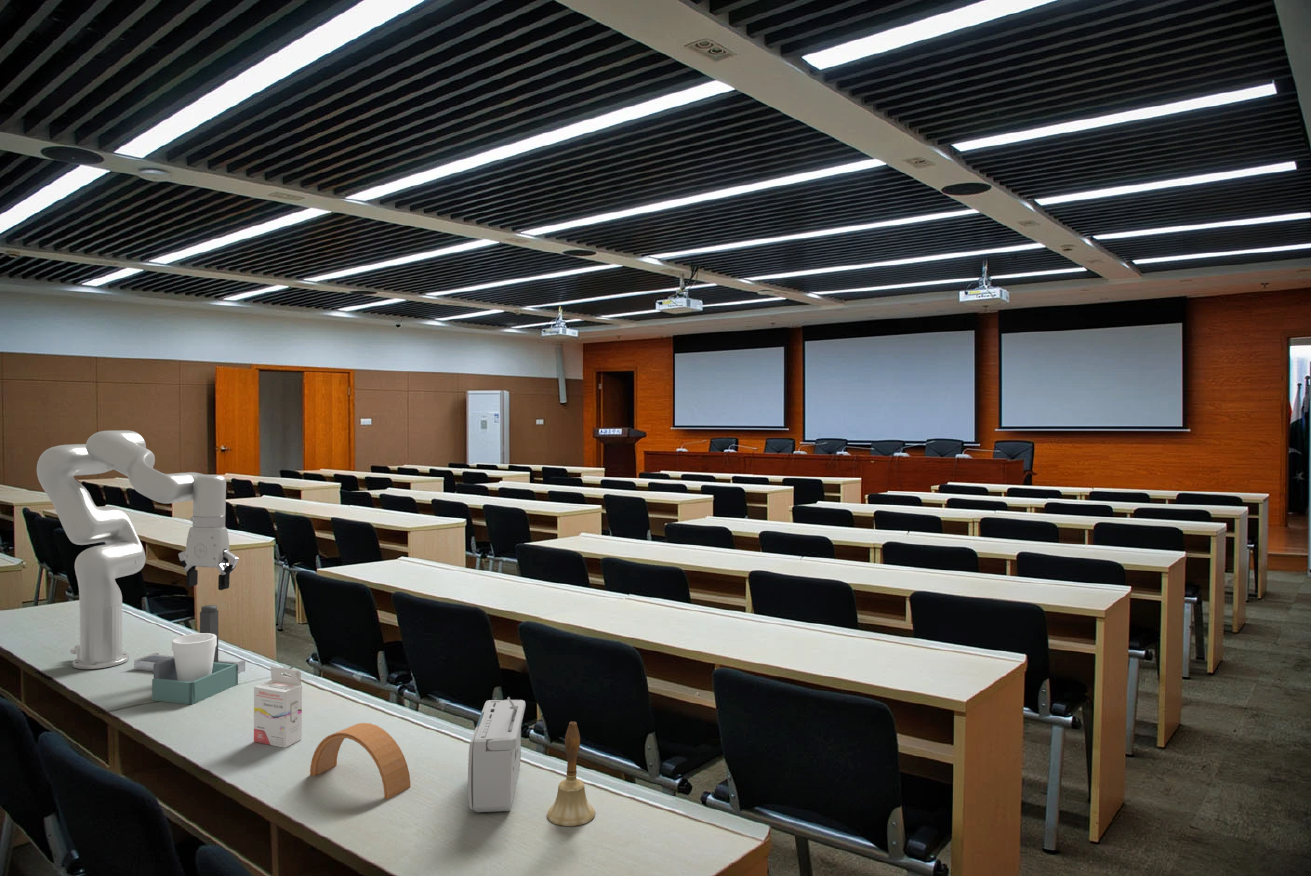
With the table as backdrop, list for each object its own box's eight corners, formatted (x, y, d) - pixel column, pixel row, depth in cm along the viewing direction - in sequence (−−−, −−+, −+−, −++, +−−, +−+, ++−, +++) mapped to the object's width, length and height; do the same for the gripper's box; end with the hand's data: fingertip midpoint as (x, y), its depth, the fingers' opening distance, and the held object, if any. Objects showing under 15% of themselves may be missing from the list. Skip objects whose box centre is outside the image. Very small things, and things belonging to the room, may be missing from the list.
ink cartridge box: (252, 742, 171) (252, 672, 170) (270, 734, 175) (270, 665, 175) (285, 748, 168) (285, 677, 168) (303, 739, 173) (303, 670, 172)
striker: (141, 694, 197) (141, 624, 197) (208, 668, 218) (208, 604, 218) (158, 696, 196) (158, 625, 196) (224, 669, 217) (224, 605, 217)
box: (152, 700, 194) (152, 679, 194) (200, 680, 209) (200, 660, 209) (192, 704, 192) (192, 683, 192) (237, 684, 207) (237, 664, 207)
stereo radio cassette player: (483, 765, 162) (483, 663, 161) (525, 764, 162) (526, 663, 162) (466, 817, 141) (467, 701, 140) (515, 816, 141) (516, 700, 141)
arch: (386, 800, 147) (387, 744, 146) (309, 775, 156) (309, 723, 156) (410, 787, 152) (411, 734, 151) (334, 764, 161) (335, 713, 161)
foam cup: (223, 685, 206) (223, 633, 205) (203, 697, 197) (203, 643, 196) (185, 684, 206) (185, 633, 205) (163, 697, 196) (163, 643, 196)
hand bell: (547, 804, 146) (548, 714, 145) (595, 803, 147) (596, 714, 146) (545, 827, 138) (546, 732, 137) (595, 826, 138) (596, 732, 138)
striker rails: (134, 669, 217) (134, 660, 217) (155, 661, 224) (155, 652, 224) (225, 678, 211) (225, 668, 211) (245, 670, 218) (245, 660, 218)
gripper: (169, 521, 213) (168, 587, 214) (227, 526, 209) (225, 593, 210) (191, 518, 221) (190, 582, 221) (247, 522, 217) (246, 587, 217)
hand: (207, 587), depth 216 cm, fingers open, 9 cm apart
